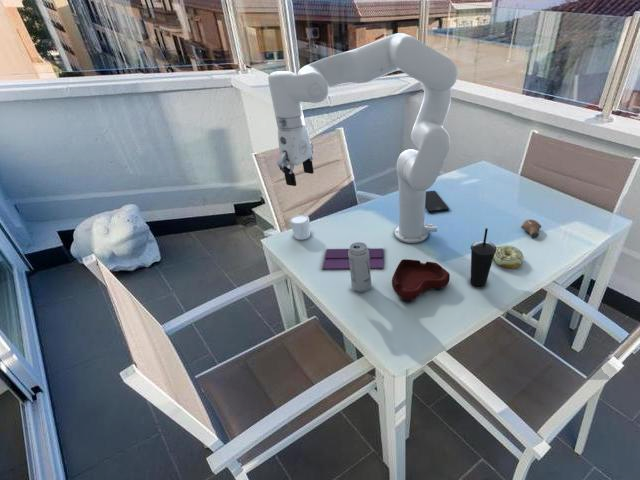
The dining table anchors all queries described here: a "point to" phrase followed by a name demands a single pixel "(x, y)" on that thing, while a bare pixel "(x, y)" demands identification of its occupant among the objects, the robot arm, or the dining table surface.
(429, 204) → the cell phone
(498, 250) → the decorated donut
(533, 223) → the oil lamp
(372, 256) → the napkin
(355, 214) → the dining table surface
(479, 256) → the drinking cup
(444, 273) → the ashtray
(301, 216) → the shot glass
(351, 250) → the energy drink can
